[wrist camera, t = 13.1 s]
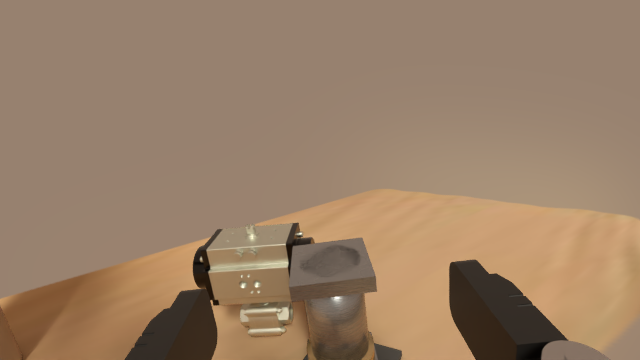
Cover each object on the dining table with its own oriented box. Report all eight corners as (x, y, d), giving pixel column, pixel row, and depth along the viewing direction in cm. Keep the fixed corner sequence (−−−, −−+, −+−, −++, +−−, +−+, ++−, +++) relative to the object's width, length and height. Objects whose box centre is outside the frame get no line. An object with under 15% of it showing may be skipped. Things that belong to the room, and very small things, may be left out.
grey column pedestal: (309, 409, 26) (288, 287, 23) (309, 350, 32) (292, 246, 29) (385, 399, 26) (375, 276, 23) (371, 342, 32) (362, 237, 29)
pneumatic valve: (225, 314, 39) (203, 220, 36) (324, 309, 38) (310, 211, 35) (206, 351, 34) (178, 245, 31) (320, 346, 33) (304, 235, 29)
